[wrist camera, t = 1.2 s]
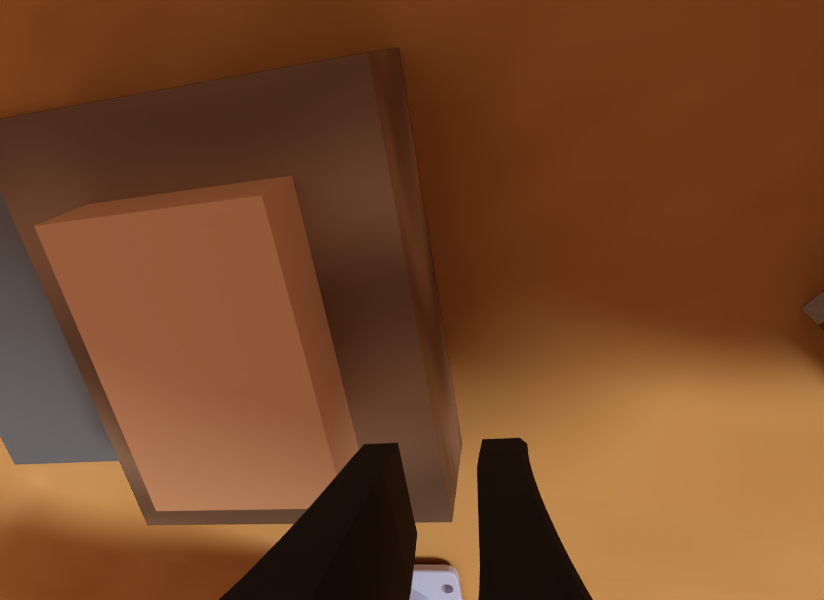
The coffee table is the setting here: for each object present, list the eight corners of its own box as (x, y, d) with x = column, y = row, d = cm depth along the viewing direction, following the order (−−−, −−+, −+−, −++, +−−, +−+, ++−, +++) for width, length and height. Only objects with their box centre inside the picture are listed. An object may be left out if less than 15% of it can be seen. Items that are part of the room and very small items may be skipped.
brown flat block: (461, 443, 22) (452, 522, 19) (200, 453, 25) (147, 525, 21) (398, 47, 17) (368, 52, 13) (71, 106, 19) (-29, 124, 16)
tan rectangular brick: (361, 461, 18) (345, 507, 17) (188, 467, 20) (156, 511, 18) (291, 175, 15) (261, 195, 13) (87, 204, 16) (33, 225, 14)
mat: (200, 453, 25) (197, 458, 24) (20, 460, 27) (14, 464, 26) (71, 106, 19) (65, 107, 19) (-144, 145, 21) (-153, 147, 21)
